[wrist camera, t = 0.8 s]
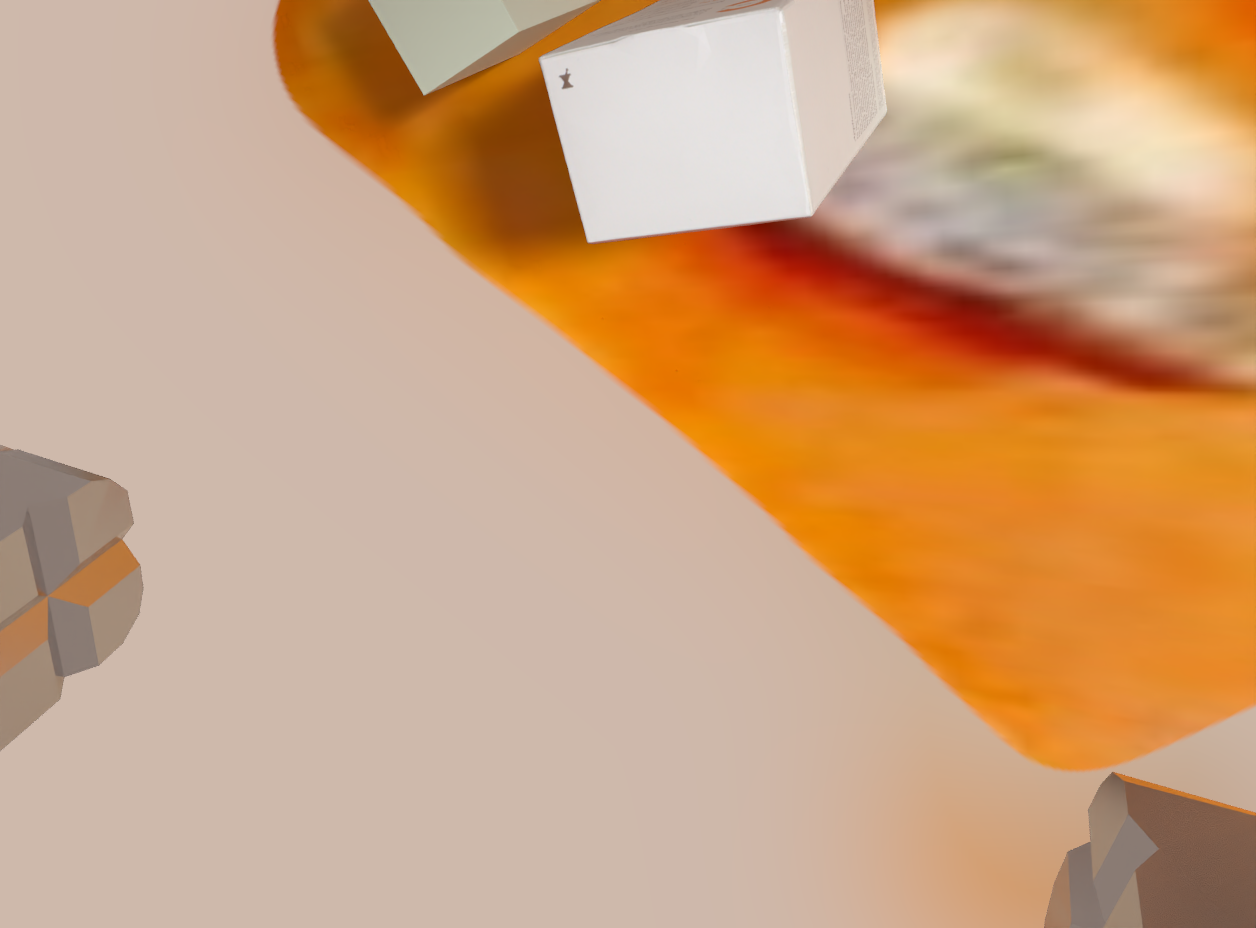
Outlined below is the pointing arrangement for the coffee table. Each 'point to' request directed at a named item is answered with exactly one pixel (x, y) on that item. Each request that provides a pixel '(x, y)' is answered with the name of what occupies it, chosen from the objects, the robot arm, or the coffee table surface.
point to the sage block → (468, 33)
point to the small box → (714, 112)
